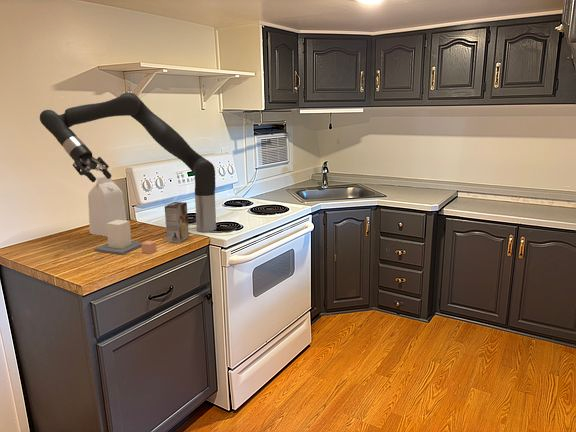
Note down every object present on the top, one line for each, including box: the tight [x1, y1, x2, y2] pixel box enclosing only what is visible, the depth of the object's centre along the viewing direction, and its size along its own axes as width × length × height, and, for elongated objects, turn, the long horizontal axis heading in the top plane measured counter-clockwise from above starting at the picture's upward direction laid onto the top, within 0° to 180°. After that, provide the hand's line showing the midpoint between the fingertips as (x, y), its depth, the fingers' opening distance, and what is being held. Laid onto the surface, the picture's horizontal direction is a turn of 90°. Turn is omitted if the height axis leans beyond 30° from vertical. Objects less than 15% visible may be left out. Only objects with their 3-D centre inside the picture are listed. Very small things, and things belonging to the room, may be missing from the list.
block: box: [141, 240, 157, 255], centre depth 178 cm, size 4×4×4 cm
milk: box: [87, 175, 128, 237], centre depth 203 cm, size 12×12×26 cm
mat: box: [94, 240, 145, 256], centre depth 183 cm, size 14×14×1 cm
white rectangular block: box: [106, 220, 133, 249], centre depth 182 cm, size 6×6×10 cm
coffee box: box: [164, 201, 190, 244], centre depth 193 cm, size 9×6×16 cm
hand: (102, 179), depth 180 cm, fingers open, 8 cm apart
